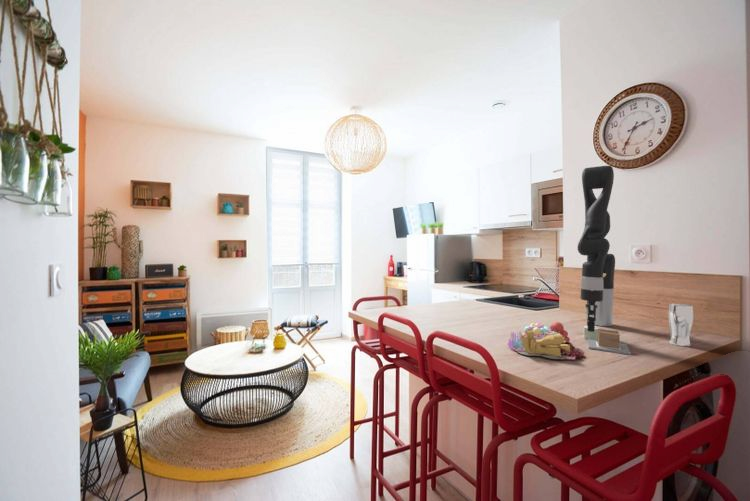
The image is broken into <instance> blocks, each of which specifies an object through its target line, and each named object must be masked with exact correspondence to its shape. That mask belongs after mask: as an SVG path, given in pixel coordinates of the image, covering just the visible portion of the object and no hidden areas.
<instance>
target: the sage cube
mask: <svg viewBox="0 0 750 501" xmlns="http://www.w3.org/2000/svg"><path fill="white" fill-rule="evenodd" d="M598 329H599V327H598V326H595V329H594V332H590V331H588V326H587V325H583V339H584V340H588V339H590V340H597V341H598Z"/></svg>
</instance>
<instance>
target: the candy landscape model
mask: <svg viewBox="0 0 750 501" xmlns="http://www.w3.org/2000/svg"><path fill="white" fill-rule="evenodd" d="M568 335H569V333H568V331H567V330H565V328H564V324H563V323H561V322H559V321H555V322H553V323H551V325H548V326H544V324H542V323H540V322H536V323H534V322H532V323H530V324H529V325H527V326H525V327H524V329H523V333H522V332H521V331H520V330H519V332H518V333H517V334H516V333H515V331H512V330H510V338H509V339H508V341H507V348H508V349H509V350H512V352H513V351H516V352H517V353H519V354H520V355H524V356H532V357H533V356H535V357H542V358H548V359H552V360H576V359H579V360H580V359H581V360H582V359H583V358H582V357H585V352H583V351H582V350H579V349H578V348H577V347H576V346H574V344H573V343H572V342H570V341H571V338H570V337H569V336H568Z"/></svg>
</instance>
